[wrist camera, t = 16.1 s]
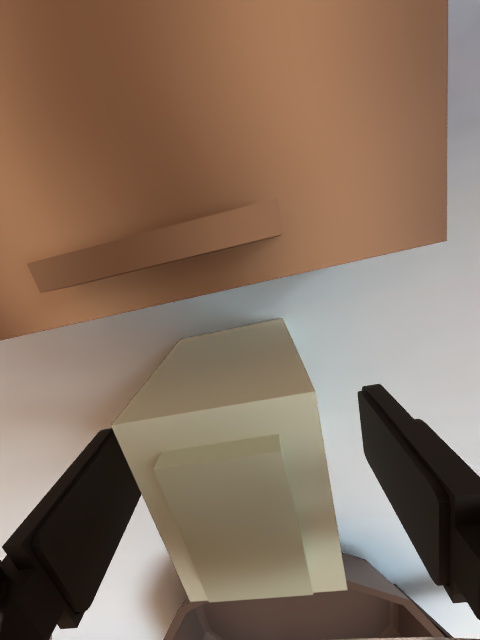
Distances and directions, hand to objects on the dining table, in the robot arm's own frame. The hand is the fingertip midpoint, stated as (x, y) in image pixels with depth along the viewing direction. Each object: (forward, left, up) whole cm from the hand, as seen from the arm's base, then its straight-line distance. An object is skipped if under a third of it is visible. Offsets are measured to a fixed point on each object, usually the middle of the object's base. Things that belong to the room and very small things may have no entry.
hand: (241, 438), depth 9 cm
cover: (0, 0, -3) cm, 3 cm away
